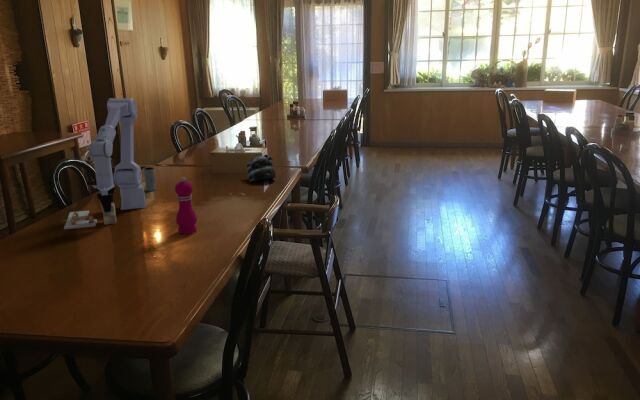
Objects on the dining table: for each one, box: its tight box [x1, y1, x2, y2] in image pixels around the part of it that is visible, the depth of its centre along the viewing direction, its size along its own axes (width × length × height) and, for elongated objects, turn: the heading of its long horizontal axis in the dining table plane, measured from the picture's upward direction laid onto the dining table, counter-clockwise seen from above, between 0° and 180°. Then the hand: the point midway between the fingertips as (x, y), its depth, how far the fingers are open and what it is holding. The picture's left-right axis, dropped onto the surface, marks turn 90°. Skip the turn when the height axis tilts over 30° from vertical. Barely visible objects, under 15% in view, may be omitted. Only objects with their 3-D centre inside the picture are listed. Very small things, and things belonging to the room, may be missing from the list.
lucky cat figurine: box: [246, 154, 277, 183], centre depth 250 cm, size 15×12×14 cm
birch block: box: [101, 202, 117, 225], centre depth 191 cm, size 4×4×7 cm
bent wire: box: [71, 211, 95, 225], centre depth 192 cm, size 8×8×3 cm
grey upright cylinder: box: [143, 166, 157, 192], centre depth 234 cm, size 4×4×10 cm
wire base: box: [63, 217, 98, 230], centre depth 192 cm, size 10×11×1 cm
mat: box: [67, 210, 90, 219], centre depth 201 cm, size 7×7×1 cm
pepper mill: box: [174, 176, 198, 235], centre depth 179 cm, size 7×7×20 cm
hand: (108, 208), depth 191 cm, fingers open, 7 cm apart
